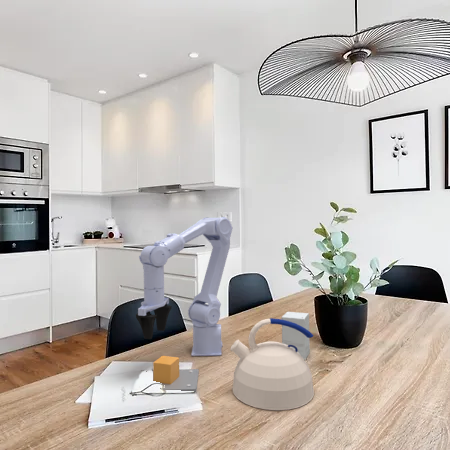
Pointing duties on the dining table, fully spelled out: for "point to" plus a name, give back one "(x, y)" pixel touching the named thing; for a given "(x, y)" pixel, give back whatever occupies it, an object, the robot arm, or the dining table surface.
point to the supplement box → (296, 332)
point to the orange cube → (166, 369)
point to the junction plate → (184, 381)
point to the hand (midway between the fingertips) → (154, 334)
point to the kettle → (272, 372)
